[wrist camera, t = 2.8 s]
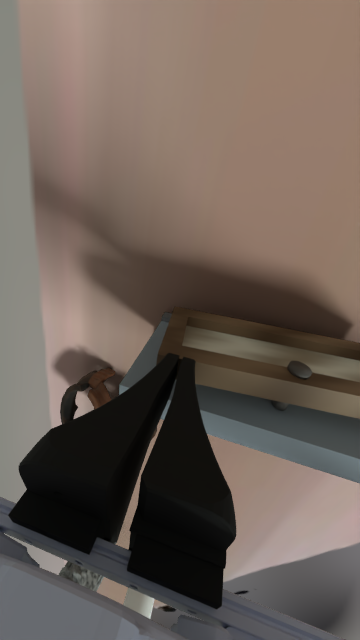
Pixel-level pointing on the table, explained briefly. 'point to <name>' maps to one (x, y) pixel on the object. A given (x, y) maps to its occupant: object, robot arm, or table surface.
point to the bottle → (139, 602)
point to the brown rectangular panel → (267, 361)
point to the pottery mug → (95, 395)
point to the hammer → (81, 576)
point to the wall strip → (266, 421)
